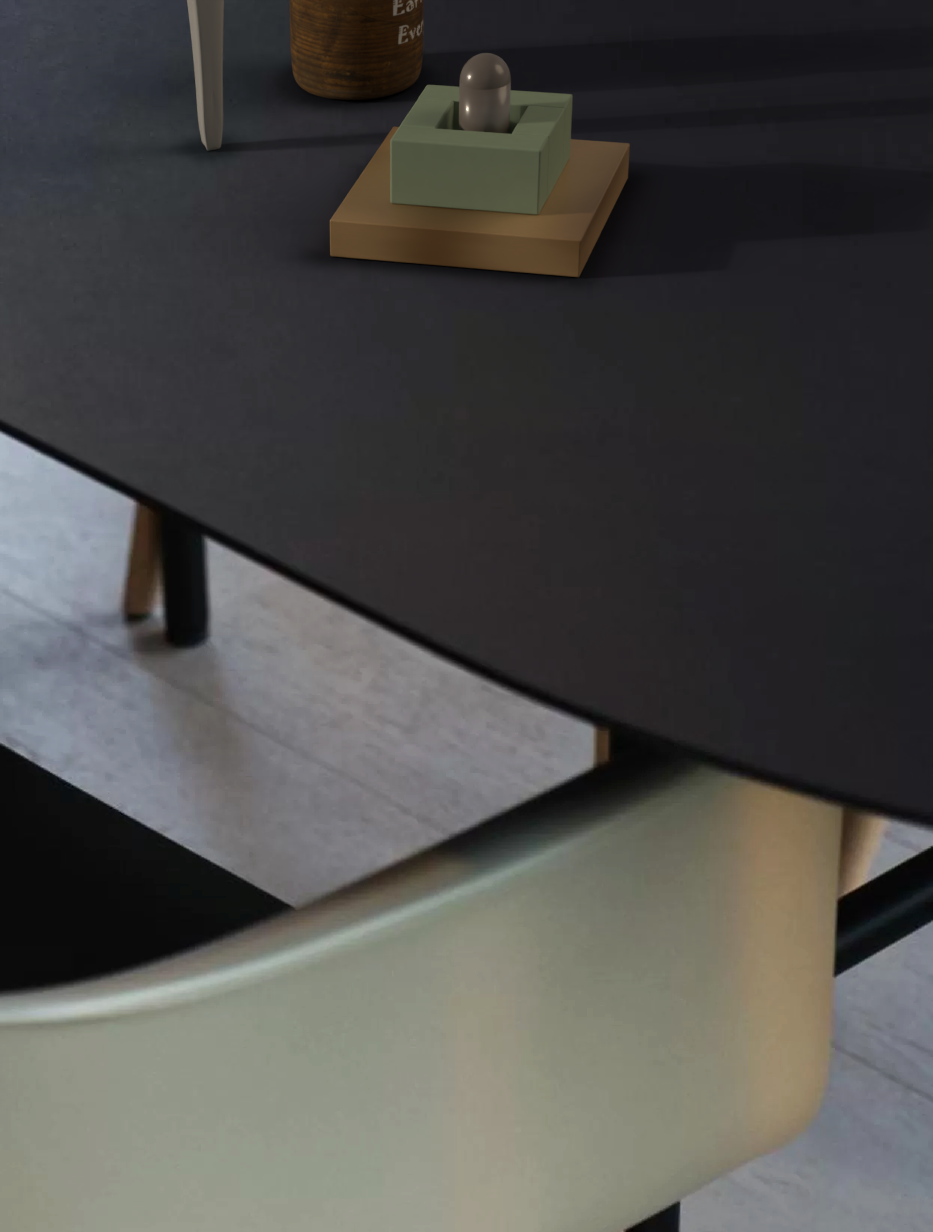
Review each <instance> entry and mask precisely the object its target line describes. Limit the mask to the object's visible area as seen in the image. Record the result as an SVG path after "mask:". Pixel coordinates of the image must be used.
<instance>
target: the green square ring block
mask: <svg viewBox="0 0 933 1232" xmlns="http://www.w3.org/2000/svg"><path fill="white" fill-rule="evenodd" d="M573 98H574V96H573V94H571V93H559V92H558V93H557V92H542V91H529V90H528V91H527V90H512V89H511V93H510V127H509V134H506V133H492V132H477V131H463V130H459V86H455V85H440V84H437V85H436V84H427V85H426V86H425V87H424V89H423V90H422V91H421V93H420V95H419V96H418V97H417V100H416V101H415V103H414V104H413V106H412V107H411V108H410V110H409V111H408V112H407V114H406V116H405V117H404V119H403V120H402V122H401V124H400V125H399V126H398V127H399V128H398V130H397V131H396V132H395V134H394V135H393V137H392V138H391V140H390V201H391V203H393V204H406V205H418V206H431V207H444V208H456V209H469V210H482V211H494V212H507V213H520V214H532V215H538V214H539V213H540V211H541V209H542V207H543V205H544V204H545V202H546V200H547V199H548V197H549V195H550V193H551V191H552V190H553V188H554V186H555V184H556V182H557V180H558V178H559V177H560V175H561V173H562V171H563V169H564V167H565V165H566V163H567V162H568V160H569V158H570V144H571V139H572V119H573V118H572V117H573Z"/></svg>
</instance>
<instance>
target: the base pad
mask: <svg viewBox="0 0 933 1232" xmlns="http://www.w3.org/2000/svg"><path fill="white" fill-rule="evenodd" d="M511 85H512V77H511V71H510V68H509V66H508V64H507V63H506V61H504V59H503V58H502V57H500V56H499V55H496V54H494V53H492V52H482V53H478V54H476V55H473V56H472V57H470V58H469V59H468V60H467V61H466V62H465V63H464V65H463V67H462V69H461V71H460V74H459V86H458V87H459V130H463V131H477V132H492V133H506V134H509V127H510V93H511V90H512V86H511ZM399 127H400V126H393V127H392V128H391V130H390V131H389V133H388V134H387V135H386V137H385V138H384V140H383V141H382V143H381V144H380V145H379V147H378V148H377V150H376V152H375V153H374V154H373V156H372V158H371V159H370V161H369V162H368V164H367V165H366V166H365V168H364V169H363V171H362V172H361V173H360V175H359V177H358V178H357V180H356V181H355V183H354V184H353V185H352V187H351V189H350V190H349V191H348V193H347V195H346V196H345V198H344V199H343V201H342V202H341V203H340V205H339V206H338V207H337V209H336V211H335V212H334V213H333V215H332V216H331V218H330V219H329V255H330V257H335V258H344V259H345V258H346V259H359V260H371V261H382V262H393V263H404V264H406V263H407V264H417V265H428V266H429V265H430V266H442V267H453V268H463V269H464V268H465V269H475V270H476V269H477V270H487V271H489V270H490V271H500V272H513V273H522V274H533V275H535V274H536V275H547V276H558V277H559V276H560V277H570V278H580V276H581V274H582V272H583V270H584V268H585V266H586V265H587V262H588V260H589V258H590V256H591V254H592V252H593V249H594V248H595V246H596V243H597V242H598V240H599V238H600V236H601V233H602V231H603V229H604V227H605V226H606V223H607V222H608V219H609V218H610V215H611V214H612V212H613V209H614V208H615V205H616V203H617V201H618V199H619V197H620V195H621V193H622V191H623V189H624V186H626V185H625V184H626V182H627V181H628V179H629V167H630V165H629V164H630V148H631V144H630V143H629V142H615V141H602V140H601V141H600V140H586V139H574V138H571V144H570V158H569V160H568V162H567V163H566V165H565V167H564V169H563V171H562V173H561V175H560V177H559V178H558V180H557V182H556V184H555V186H554V188H553V190H552V191H551V193H550V195H549V197H548V199H547V200H546V202H545V204H544V205H543V207H542V209H541V211H540V213H539V214H538V215H532V214H520V213H507V212H494V211H482V210H469V209H456V208H444V207H431V206H418V205H406V204H393V203H391V201H390V140H391V138H392V137H393V135H394V134H395V132H396V131H397V130H398V128H399Z"/></svg>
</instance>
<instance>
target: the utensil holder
mask: <svg viewBox="0 0 933 1232" xmlns="http://www.w3.org/2000/svg"><path fill="white" fill-rule="evenodd" d="M289 40H290V56H291V57H290V60H291V69H292V74H293V78H294V80H295V82H296V84H297V85H298V86H299V87H300V88H301V89H302V90H304V91H305V92H307V93H309V94H311V95H314V96H317V97H320V98H325V99H331V100H337V101H338V100H339V101H367V100H376V99H381V98H386V97H390V96H393V95H397V94H398V93H401V92H403V91H405V90H407V89H409V88H410V87H412V86H413V85H414V84H415V83H416V82H417V80H418V79H419V77H420V74H421V71H422V65H423V56H424V0H289Z"/></svg>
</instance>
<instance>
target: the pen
mask: <svg viewBox="0 0 933 1232" xmlns="http://www.w3.org/2000/svg"><path fill="white" fill-rule="evenodd" d="M186 3H187V9H188V10H187V11H188V12H187V13H188V19H189V20H188V22H189V30H190V38H191V47H192V48H191V49H192V57H193V58H192V59H193V60H192V61H193V71H194V80H195V94H196V95H195V96H196V109H197V110H196V111H197V112H196V113H197V121H198V130H199V134H200V139H201V143H202V144H203V146H204V147H205V149H206V151H208V152H210V151H215V150H220V149H221V147H222V141H223V132H224V131H223V130H224V87H223V86H224V85H223V84H224V83H223V82H224V81H223V77H224V76H223V75H224V73H223V72H224V71H223V70H224V69H223V67H224V62H223V61H224V17H225V16H224V13H225V12H224V11H225V0H186Z"/></svg>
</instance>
